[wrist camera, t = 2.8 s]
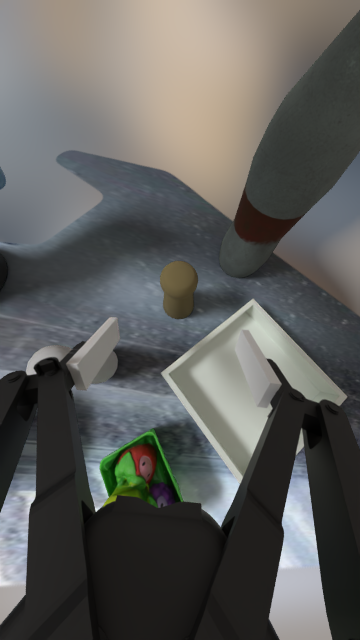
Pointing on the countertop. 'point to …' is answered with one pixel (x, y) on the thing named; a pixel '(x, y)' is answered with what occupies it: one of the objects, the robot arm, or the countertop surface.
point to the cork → (178, 289)
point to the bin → (241, 384)
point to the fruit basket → (140, 472)
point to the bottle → (299, 154)
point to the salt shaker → (61, 352)
